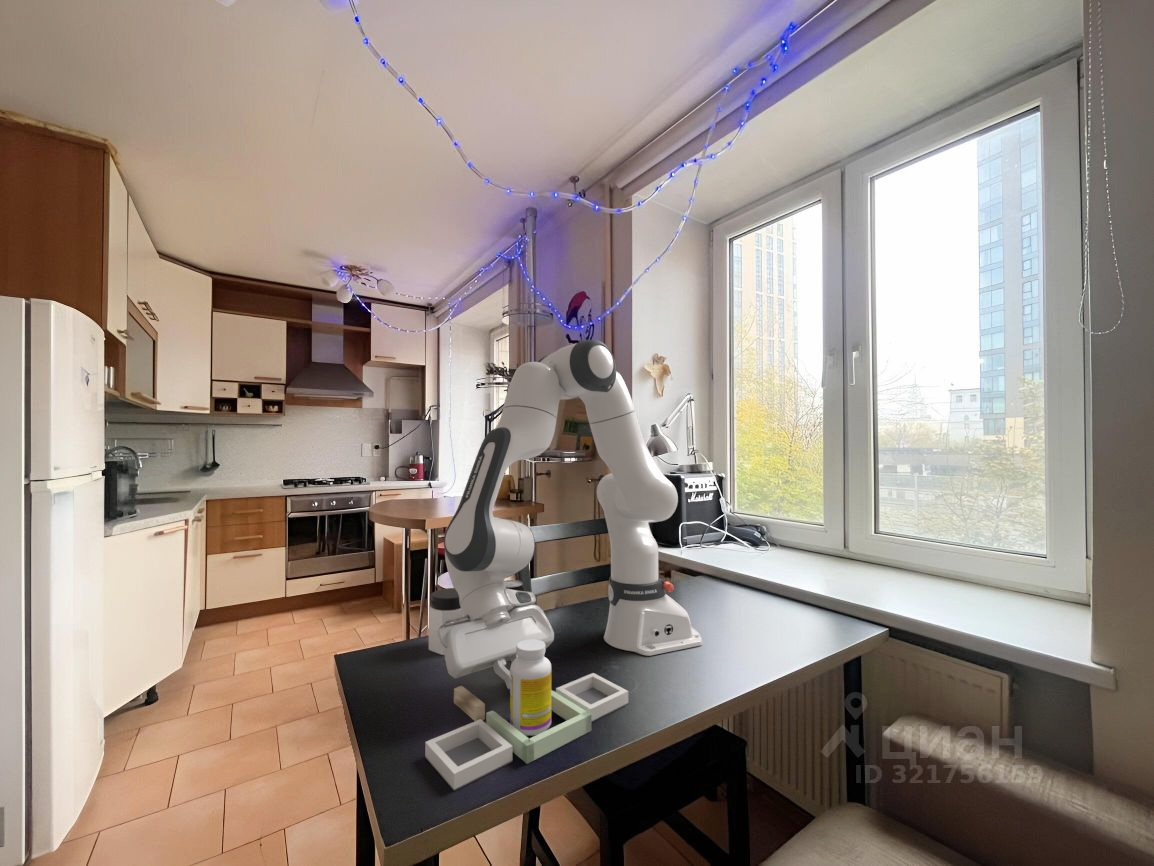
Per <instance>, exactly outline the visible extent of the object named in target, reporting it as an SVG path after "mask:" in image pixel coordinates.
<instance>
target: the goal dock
mask: <svg viewBox="0 0 1154 866" xmlns="http://www.w3.org/2000/svg"><path fill="white" fill-rule="evenodd" d="M551 712H552V713H554V714H556V715H558V716H559V717H561V718H562V719H563V720H565V721H564V722H562V723H559V724H556V725H555V726H553V727H551V728H548V729H547V730H546V731H544V732H542V733H540V734H538V735H533V736H532V737H530V738H529V737H528V736H525V735H524V734H522V733H521V732H520V731H519V730H517V729H516V728H515V727H514V726H512V725H511V724H510V722H508V721H507V719H505V718H503V717H502V716H501V715H500V714H498V713H497V712H496V711H494V710H490V711H488V712H485V719H486V721H485V723H486V724H487V725H488V726H489V727H491V728H492V729H493V730H494V731H495V732H497V733H498V734H499V735H500V736H501V737H502V738H504V739H505V740H506V741H507V742H508V743H510V744H511V745H512V746H513V753H514V755H516V756H517V757H518V758H519V759H521V760H522V761H523V762H524V763H525V764H527V765H528V764H530V763H531V762H533V761H535V760H536V761H537V760H538V759H539V758H542V757H543V756H545V755H547V754H549V753H552V751H555V750H557V749H558V748H560V747H562V746H564V745H566V744H568V743H570V742H572V741H574V740H576V739H578V738H580V737H582V736H584V735H586V734H587V733H590V732H592V728H593V727H592V723H593V722H592V714H590V713H588V712H587V711H585V710H583V709H582V708H580V707H579V706H577V705H575V704H574V703H572V702H571V701H569V700H567V699H566V698H564V697H562V696H561V695H559V694H558V693H556V691H555V690H552V689H551Z"/></svg>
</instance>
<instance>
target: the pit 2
mask: <svg viewBox="0 0 1154 866" xmlns="http://www.w3.org/2000/svg"><path fill="white" fill-rule="evenodd" d="M555 692H556V693H558V694H559V695H561V696H562V697H564V698H566V699H567V700H569V701H571V702H572V703H574V704H575V705H577V706H579V707H580V708H582V709H583V710H585V711H587V712H588V713H590V714H592V723H594V722H595V721H598V720H600V719H601V718H603V717H606V716H607V715H610V714H611V713H613V712H615V711H617V710H619V709H621V708H623V707H625V706H626V705H629V690H627V689H625V688H623V687H621V686H619V685H617V684H615V683H613V682H611V681H609V680H608V679H606V678H604V677H602V676H600V675H598V674H597V673H594V672H592V673H590V674H587V675H584V676H582V677H580V678H577V679H576V680H572V681H570V682H568V683H566V684H562V685H561V686H558V687H555Z"/></svg>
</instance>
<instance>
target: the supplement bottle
mask: <svg viewBox="0 0 1154 866" xmlns="http://www.w3.org/2000/svg"><path fill="white" fill-rule="evenodd" d="M546 649H547V648H546ZM546 649H545V643H544V642H543V641H541V640H536V639H528V640H523V641H520V642H519V643H518V644H517V647H516V653H517V656H518V658H516V659H515V660H514V661H513V662H511V664H510V668H509V671H510V689H509V723H510V724H511V725H512V726H514V727H515V728H516V729H517V730H519V731H520V732H521V733H522V734H524V735H525V736H526V737H529V736H530V737H531V736H532V737H534V736H536V735H538V734H540V733H542V732H544V731H546V730H548V729H550V726H551V725H552V710H551V690H552V663H551V661H550V660H549V659H548V658H547V657H545V653H546Z"/></svg>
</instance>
